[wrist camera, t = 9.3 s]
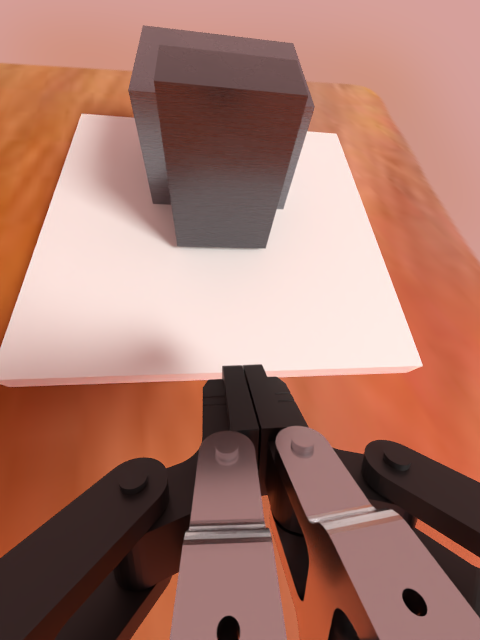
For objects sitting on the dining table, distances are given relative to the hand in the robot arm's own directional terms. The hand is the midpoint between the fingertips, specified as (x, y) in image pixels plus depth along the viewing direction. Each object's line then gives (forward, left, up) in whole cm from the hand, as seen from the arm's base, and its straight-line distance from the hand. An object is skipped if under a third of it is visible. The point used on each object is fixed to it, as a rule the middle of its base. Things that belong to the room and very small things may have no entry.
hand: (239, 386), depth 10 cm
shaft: (0, +20, -4) cm, 21 cm away
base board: (0, +14, -6) cm, 15 cm away
